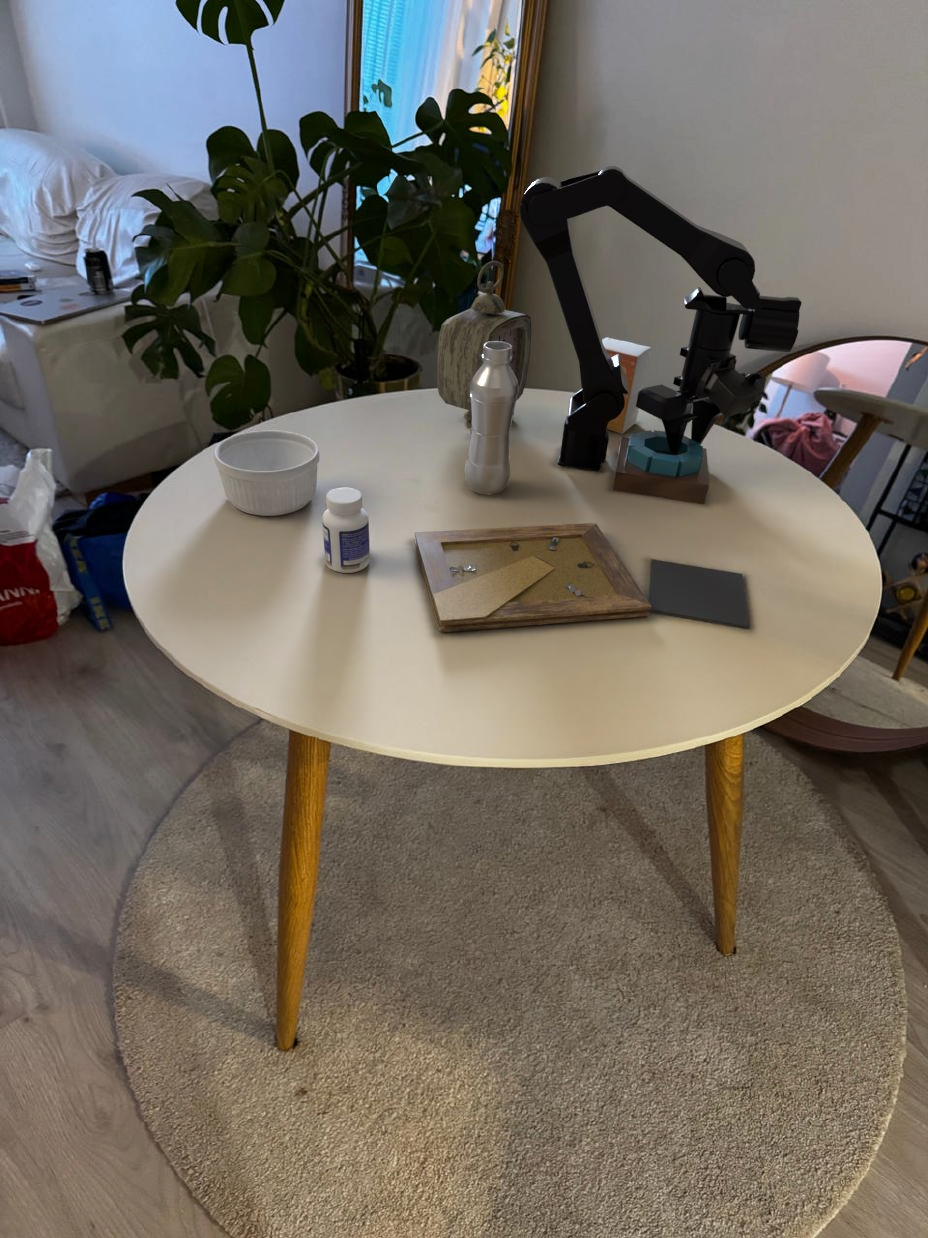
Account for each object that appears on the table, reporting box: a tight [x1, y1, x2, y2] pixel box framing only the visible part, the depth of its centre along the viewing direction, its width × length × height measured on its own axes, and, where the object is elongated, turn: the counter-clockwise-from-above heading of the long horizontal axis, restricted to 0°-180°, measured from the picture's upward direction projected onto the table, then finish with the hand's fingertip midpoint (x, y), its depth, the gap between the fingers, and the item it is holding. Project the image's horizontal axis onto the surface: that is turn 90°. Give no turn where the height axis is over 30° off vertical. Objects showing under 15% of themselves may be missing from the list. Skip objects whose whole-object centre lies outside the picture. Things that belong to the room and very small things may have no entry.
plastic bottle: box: [463, 341, 519, 495], centre depth 101 cm, size 6×7×20 cm
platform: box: [612, 436, 710, 505], centre depth 112 cm, size 13×13×3 cm
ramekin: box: [213, 429, 320, 517], centre depth 99 cm, size 13×13×7 cm
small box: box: [601, 336, 652, 435], centre depth 125 cm, size 8×6×13 cm
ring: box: [626, 429, 704, 476], centre depth 111 cm, size 11×11×2 cm
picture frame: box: [414, 522, 651, 633], centre depth 89 cm, size 19×2×24 cm
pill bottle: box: [321, 486, 371, 574], centre depth 87 cm, size 5×5×9 cm
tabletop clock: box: [436, 260, 532, 435], centre depth 119 cm, size 14×9×25 cm, turn 147°
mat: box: [648, 558, 750, 630], centre depth 88 cm, size 11×11×1 cm
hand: (684, 450), depth 113 cm, fingers open, 4 cm apart
